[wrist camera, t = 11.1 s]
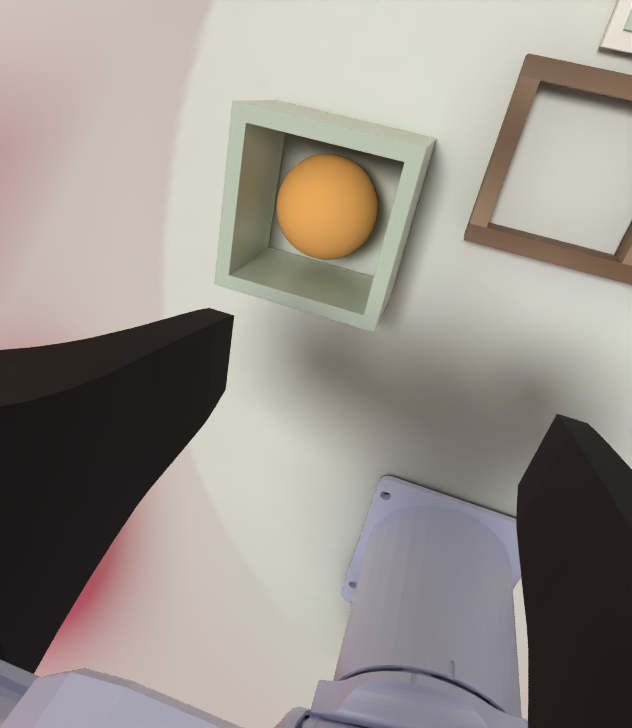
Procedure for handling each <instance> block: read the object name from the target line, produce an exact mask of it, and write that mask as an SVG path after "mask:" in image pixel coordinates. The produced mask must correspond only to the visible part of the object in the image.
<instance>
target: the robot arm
mask: <svg viewBox="0 0 632 728" xmlns="http://www.w3.org/2000/svg"><path fill="white" fill-rule="evenodd" d="M233 321H234V315H230V314H227V313H224V312H221V311H217V310H214V309H211V308H207V309H201V310H196V311H192V312H189V313H185V314H181V315H178V316H174V317H171V318H167V319H163V320H160V321H156V322H153V323H149V324H146V325H142V326H138V327H135V328H131V329H126V330H122V331H118V332H114V333H110V334H106V335H101V336H97V337H93V338H88V339H83V340H77V341H72V342H66V343H60V344H53V345H46V346H40V347H30V348H19V349H7V350H0V728H242V727H240V726H238V725H235V724H233V723H230V722H228V721H226V720H223V719H221V718H218V717H216V716H214V715H212V714H209V713H207V712H205V711H202V710H200V709H198V708H195V707H193V706H190V705H188V704H186V703H183V702H181V701H179V700H176V699H174V698H172V697H169V696H167V695H165V694H162V693H160V692H157V691H155V690H153V689H150V688H148V687H146V686H143V685H141V684H139V683H136V682H134V681H130V680H127V679H123V678H119V677H116V676H111V675H108V674H104V673H101V672H97V671H93V670H89V669H86V668H84V669H78V670H73V671H68V672H62V673H57V674H52V675H48V676H44V677H39V676H37V675H34V672H35V671H36V669H37V667H38V665H39V664H40V662H41V660H42V658H43V656H44V655H45V653H46V651H47V649H48V648H49V646H50V644H51V642H52V640H53V639H54V637H55V635H56V633H57V632H58V630H59V628H60V627H61V625H62V623H63V622H64V620H65V618H66V617H67V615H68V613H69V612H70V610H71V608H72V607H73V605H74V603H75V601H76V600H77V598H78V597H79V595H80V593H81V592H82V590H83V588H84V586H85V585H86V583H87V581H88V580H89V578H90V577H91V575H92V574H93V572H94V571H95V569H96V567H97V566H98V564H99V563H100V561H101V560H102V558H103V556H104V555H105V553H106V552H107V550H108V549H109V547H110V545H111V544H112V542H113V541H114V539H115V538H116V536H117V535H118V533H119V532H120V530H121V529H122V527H123V526H124V524H125V523H126V521H127V520H128V518H129V517H130V515H131V514H132V512H133V511H134V509H135V508H136V506H137V505H138V504H139V502H140V501H141V499H142V498H143V497H144V496H145V494H146V493H147V492H148V491H149V489H150V488H151V487H152V485H154V483H155V482H156V481H157V480H158V479H159V477H160V476H161V475H162V474H163V472H164V471H165V470H166V469H167V468H168V467H169V466H170V464H171V463H172V462H173V461H174V459H175V458H176V457H177V456H178V455H179V454H180V452H181V451H182V450H183V449H184V448H185V447H186V445H187V444H188V443H189V442H190V441H191V439H192V438H193V437H194V436H195V435H196V433H197V432H198V431H199V430H200V428H201V427H202V426H203V425H204V423H205V422H206V421H207V419H208V418H209V416H210V414H211V413H212V411H213V410H214V408H215V407H216V405H217V403H218V401H219V400H220V398H221V396H222V395H223V393H224V391H225V390H226V381H227V373H228V364H229V355H230V347H231V338H232V329H233ZM383 492H388V493H389V495H386V494H384V493H383ZM520 577H521V578H522V587H523V596H524V605H525V614H526V622H527V635H528V655H529V656H528V660H529V661H528V662H529V663H528V664H529V666H528V673H529V675H528V677H529V678H528V680H529V681H528V683H529V684H528V685H529V686H528V688H529V690H528V699H529V701H528V721H527V720H526V719H523V718H522V717H521V702H520V688H519V673H518V659H517V646H516V631H515V616H514V604H513V588H514V587H515V585H516V584H517V582H518V580H519V579H520ZM341 595H342V597H343V598H344V599H345V600H347V601H349V602H352V607H351V611H350V615H349V619H348V623H347V627H346V631H345V635H344V639H343V643H342V647H341V651H340V655H339V659H338V663H337V667H336V671H335V675H334V679H333V681H326V680H320V681H319V682H318V685H317V689H316V692H315V696H314V700H313V703H312V707H311V710H310V709H306V708H303V707H296V708H293V709H292V710H291V711H289V712H288V713H287V714H286V715H285V717H284V718H283V719H282V721H281V722H279V724H277V725H276V726H275V727H274V728H632V469H631V468H630V467H629V466H628V465H627V464H626V463H625V462H624V460H623V459H622V458H621V457H620V456H619V455H618V454H617V453H616V452H615V451H614V450H613V448H612V447H611V446H610V445H609V444H608V443H607V442H606V441H605V440H604V439H603V438H602V437H601V436H600V435H599V434H598V433H597V432H596V431H595V430H594V429H593V428H592V427H591V426H590V425H589V424H588V423H585V422H581V421H578V420H575V419H572V418H568V417H565V416H562V415H559V414H557V415H556V417H555V419H554V420H553V422H552V424H551V426H550V428H549V430H548V431H547V433H546V435H545V437H544V439H543V441H542V442H541V444H540V446H539V448H538V450H537V452H536V453H535V455H534V457H533V459H532V461H531V463H530V464H529V466H528V468H527V470H526V472H525V474H524V475H523V477H522V479H521V481H520V483H519V485H518V496H517V517H516V519H515V518H512V517H509V516H506V515H503V514H500V513H497V512H494V511H491V510H488V509H486V508H483V507H480V506H477V505H474V504H471V503H468V502H465V501H462V500H459V499H456V498H453V497H450V496H447V495H445V494H442V493H439V492H436V491H433V490H430V489H427V488H424V487H421V486H418V485H415V484H412V483H409V482H406V481H403V480H401V479H398V478H395V477H392V476H384V477H382V478H381V479H380V481H379V483H378V486H377V489H376V492H375V495H374V498H373V501H372V504H371V507H370V509H369V512H368V515H367V518H366V521H365V524H364V527H363V530H362V533H361V536H360V538H359V541H358V544H357V547H356V550H355V553H354V556H353V559H352V562H351V565H350V567H349V570H348V573H347V576H346V579H345V582H344V585H343V588H342V591H341Z"/></svg>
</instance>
